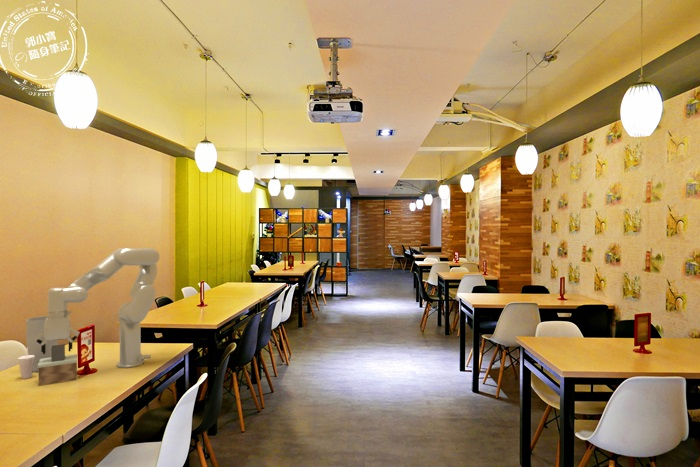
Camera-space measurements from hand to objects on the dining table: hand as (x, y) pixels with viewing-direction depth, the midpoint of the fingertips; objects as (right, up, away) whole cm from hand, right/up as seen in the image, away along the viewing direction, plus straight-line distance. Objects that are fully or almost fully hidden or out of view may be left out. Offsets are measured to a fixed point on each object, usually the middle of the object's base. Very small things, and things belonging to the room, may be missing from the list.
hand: (57, 352), depth 197 cm
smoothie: (-17, -13, +3) cm, 21 cm away
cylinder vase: (-19, -13, +17) cm, 29 cm away
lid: (0, -6, 0) cm, 6 cm away
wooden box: (+1, -13, 0) cm, 13 cm away
